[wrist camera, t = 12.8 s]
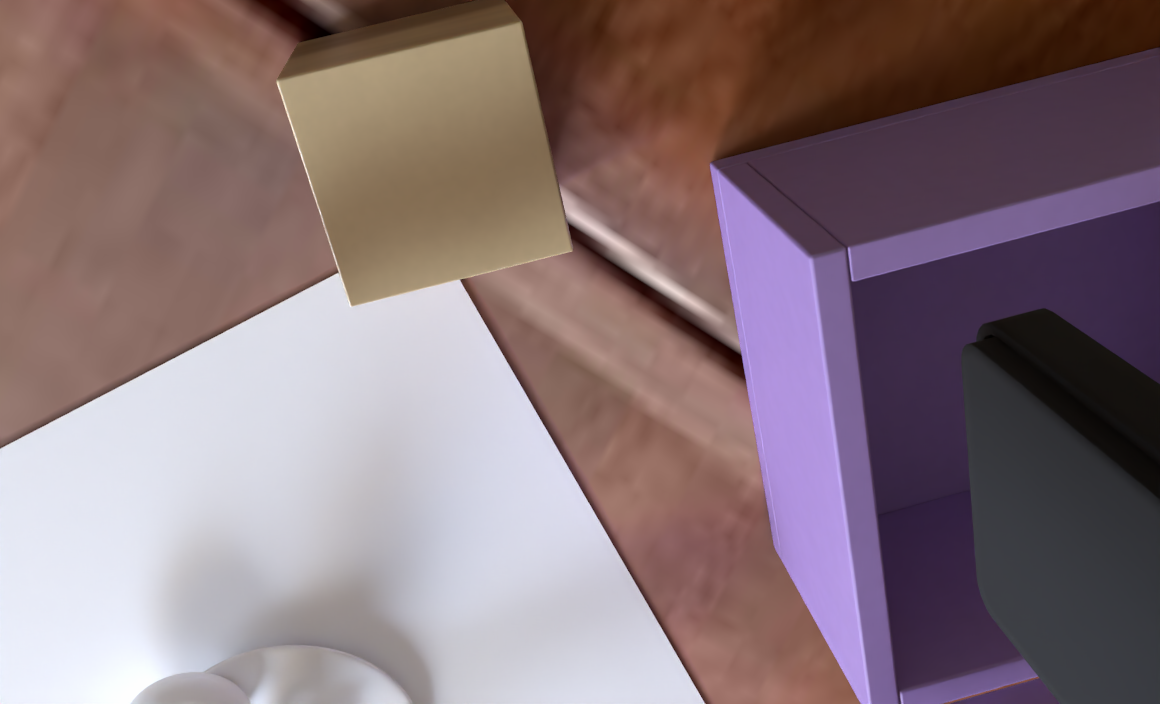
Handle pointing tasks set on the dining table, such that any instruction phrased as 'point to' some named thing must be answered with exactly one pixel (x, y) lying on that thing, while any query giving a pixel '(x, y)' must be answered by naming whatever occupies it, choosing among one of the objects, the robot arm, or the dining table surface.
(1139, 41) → the dining table surface
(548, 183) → the block
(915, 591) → the box
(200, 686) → the teacup and saucer
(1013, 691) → the lid
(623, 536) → the dining table surface
